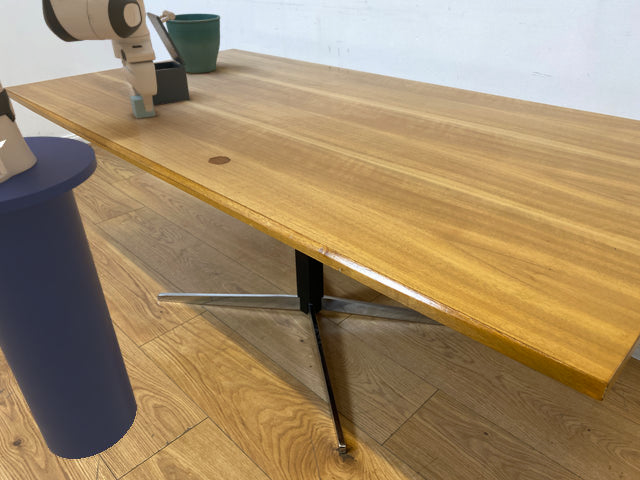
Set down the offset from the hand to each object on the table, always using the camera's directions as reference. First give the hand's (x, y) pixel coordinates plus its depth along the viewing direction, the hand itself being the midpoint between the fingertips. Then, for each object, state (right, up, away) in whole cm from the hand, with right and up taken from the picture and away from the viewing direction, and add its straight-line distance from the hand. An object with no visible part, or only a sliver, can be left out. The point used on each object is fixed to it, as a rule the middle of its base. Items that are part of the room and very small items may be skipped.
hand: (144, 106), depth 122 cm
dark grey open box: (0, +6, +14) cm, 15 cm away
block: (-1, -2, +1) cm, 2 cm away
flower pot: (+2, +25, +46) cm, 53 cm away
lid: (+3, +20, +8) cm, 22 cm away
